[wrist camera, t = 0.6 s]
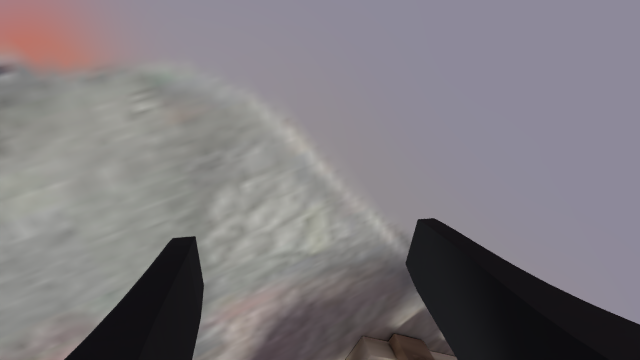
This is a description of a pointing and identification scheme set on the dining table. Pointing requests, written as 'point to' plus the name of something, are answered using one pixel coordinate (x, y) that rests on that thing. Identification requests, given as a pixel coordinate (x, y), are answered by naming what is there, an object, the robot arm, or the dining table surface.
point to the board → (382, 351)
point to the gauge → (409, 348)
